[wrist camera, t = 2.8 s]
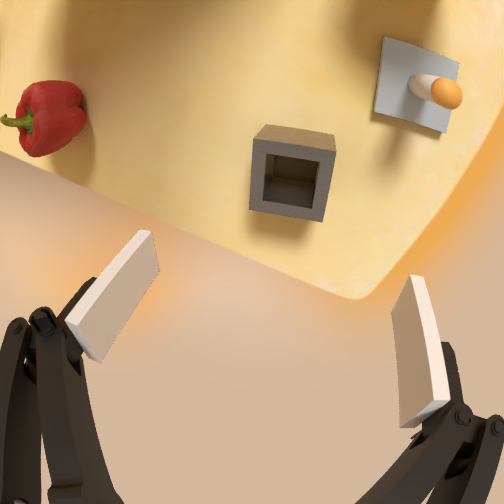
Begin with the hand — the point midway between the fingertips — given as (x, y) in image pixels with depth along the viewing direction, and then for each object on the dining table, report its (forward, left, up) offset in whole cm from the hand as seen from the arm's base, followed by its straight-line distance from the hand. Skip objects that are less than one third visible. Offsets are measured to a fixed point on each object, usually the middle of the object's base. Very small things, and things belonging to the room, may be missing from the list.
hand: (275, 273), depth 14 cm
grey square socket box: (-1, -1, -19) cm, 19 cm away
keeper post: (+10, +10, -19) cm, 24 cm away
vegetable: (-32, +5, -19) cm, 37 cm away
